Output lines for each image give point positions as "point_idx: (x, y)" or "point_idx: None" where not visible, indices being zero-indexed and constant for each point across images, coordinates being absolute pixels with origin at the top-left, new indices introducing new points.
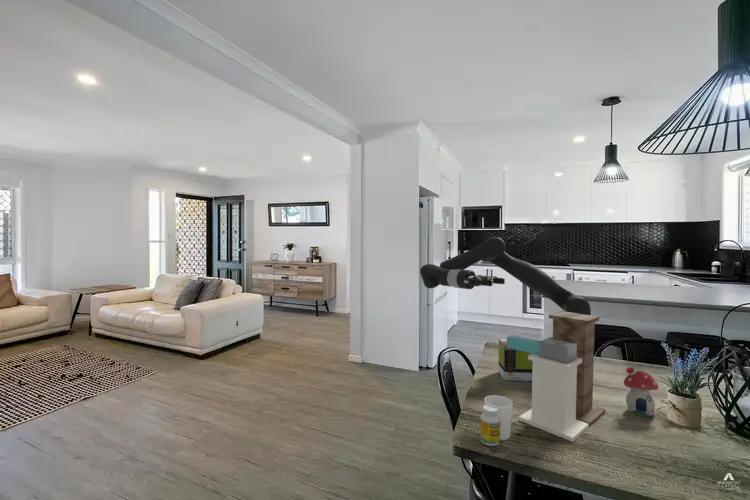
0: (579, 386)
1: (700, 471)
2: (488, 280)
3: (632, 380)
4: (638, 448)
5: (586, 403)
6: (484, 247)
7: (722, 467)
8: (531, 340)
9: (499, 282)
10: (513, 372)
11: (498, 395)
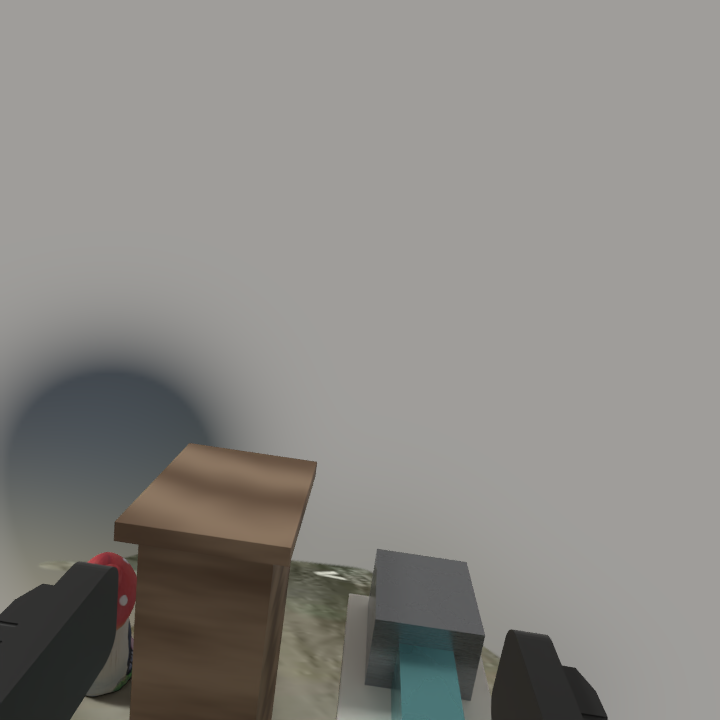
0: (270, 715)
1: (345, 598)
2: (559, 676)
3: (129, 596)
4: (337, 668)
5: None
6: None
7: (303, 576)
8: (427, 705)
9: (71, 696)
10: None
11: None
